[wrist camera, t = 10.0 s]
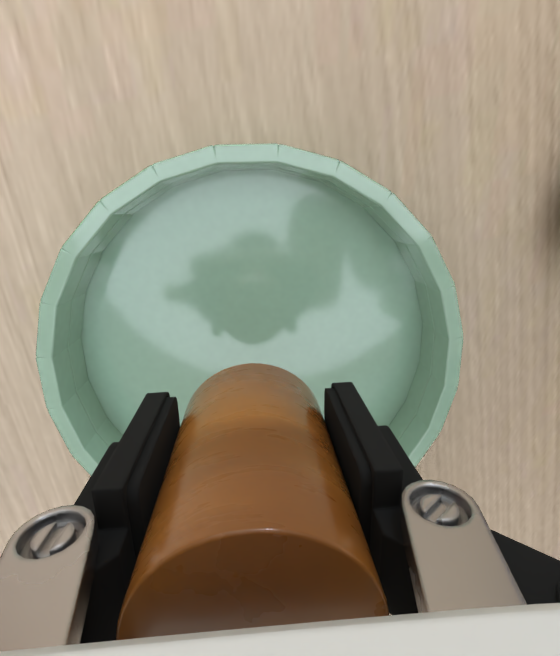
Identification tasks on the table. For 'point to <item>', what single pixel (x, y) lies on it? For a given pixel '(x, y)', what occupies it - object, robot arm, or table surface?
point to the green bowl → (247, 294)
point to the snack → (251, 518)
